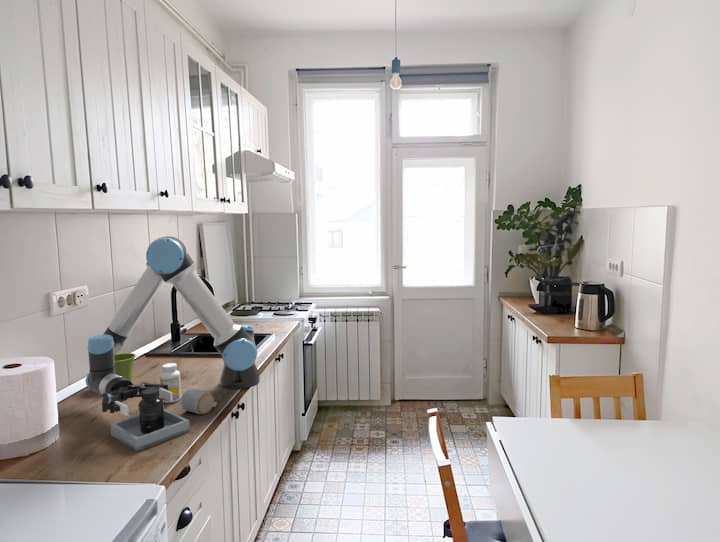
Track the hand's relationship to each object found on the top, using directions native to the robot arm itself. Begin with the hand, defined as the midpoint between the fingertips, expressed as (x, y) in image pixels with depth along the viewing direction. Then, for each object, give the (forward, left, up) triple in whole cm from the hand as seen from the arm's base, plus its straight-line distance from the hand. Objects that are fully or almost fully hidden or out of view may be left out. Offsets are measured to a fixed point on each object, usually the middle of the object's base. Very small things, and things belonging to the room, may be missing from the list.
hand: (150, 403), depth 139 cm
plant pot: (-14, -51, -10) cm, 54 cm away
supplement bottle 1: (-1, -1, -9) cm, 9 cm away
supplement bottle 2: (-18, -21, -10) cm, 29 cm away
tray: (0, -1, -10) cm, 10 cm away
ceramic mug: (-19, -4, -10) cm, 22 cm away
